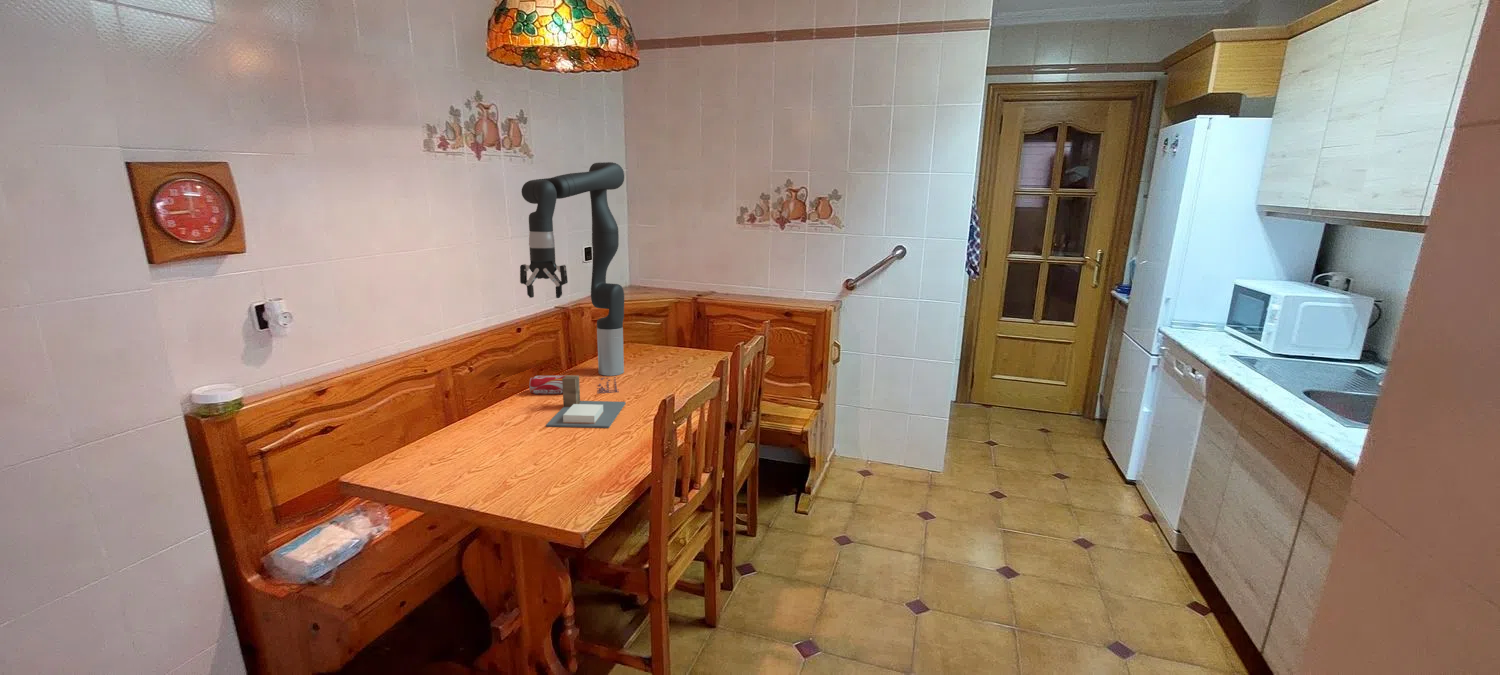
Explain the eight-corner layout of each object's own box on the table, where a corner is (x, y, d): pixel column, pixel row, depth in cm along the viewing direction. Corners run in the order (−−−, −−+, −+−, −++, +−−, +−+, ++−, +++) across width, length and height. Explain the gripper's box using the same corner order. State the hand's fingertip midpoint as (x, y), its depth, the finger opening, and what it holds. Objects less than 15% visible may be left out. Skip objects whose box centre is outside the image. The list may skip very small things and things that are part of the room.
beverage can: (566, 378, 199) (528, 379, 198) (566, 396, 200) (529, 397, 199) (569, 373, 205) (533, 373, 204) (570, 390, 206) (534, 391, 205)
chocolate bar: (617, 379, 222) (617, 374, 222) (619, 395, 204) (618, 389, 204) (597, 380, 220) (597, 375, 220) (597, 396, 202) (596, 390, 202)
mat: (569, 402, 194) (569, 400, 194) (625, 403, 194) (625, 401, 194) (546, 426, 173) (546, 424, 173) (608, 428, 173) (608, 426, 172)
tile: (573, 404, 184) (563, 415, 174) (603, 404, 183) (594, 415, 174) (573, 411, 184) (563, 422, 174) (603, 412, 184) (594, 423, 174)
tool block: (567, 402, 192) (566, 375, 190) (580, 402, 192) (579, 375, 190) (563, 406, 188) (562, 378, 186) (576, 406, 188) (575, 379, 186)
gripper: (568, 245, 192) (570, 296, 196) (524, 245, 193) (527, 295, 196) (560, 247, 185) (563, 299, 189) (514, 246, 185) (518, 298, 189)
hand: (544, 297), depth 192 cm, fingers open, 8 cm apart
